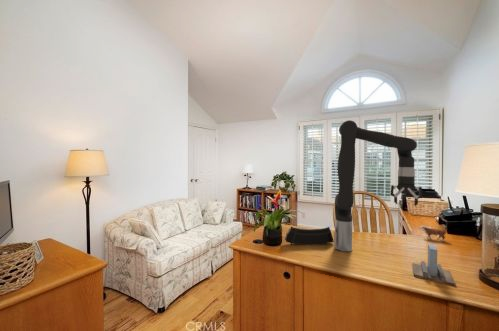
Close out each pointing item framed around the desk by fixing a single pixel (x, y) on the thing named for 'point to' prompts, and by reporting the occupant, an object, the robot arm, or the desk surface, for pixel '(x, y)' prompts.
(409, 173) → the robot arm
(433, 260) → the door panel
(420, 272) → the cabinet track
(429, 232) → the bull figurine
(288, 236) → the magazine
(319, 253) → the desk surface
